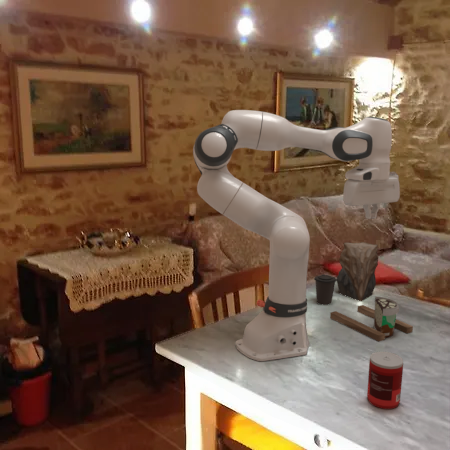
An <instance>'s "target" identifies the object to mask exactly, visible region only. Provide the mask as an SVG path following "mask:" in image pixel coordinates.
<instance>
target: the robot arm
mask: <svg viewBox="0 0 450 450" xmlns="http://www.w3.org/2000/svg"><path fill="white" fill-rule="evenodd" d="M392 137H393V129H392V124H391V122H390V121H389V120H388V119H386V118H382V117H376V116H365V117H364V118H363V119H362V120H360V121H359V122H356V123H354V124H352V125H350V126H347V127H344V126H343V127H342V126H335V127H331V128H327V129H317V128H310V127H305V126H300V125H297V124H294V123H292V122H290V120H288V119H287V118H285V117H283V116H281V115H278V114H274V113H272V112H266V111H260V110H250V109H249V110H248V109H234V110H229V111H228V112H226V113H225V114H224V116H223V118H222V120H221V123H220V124H218V125H214V126H212V127H209V128H207V129H205V130H203V131H201V132H200V133H199V135H197V137H196V139H195V141H194V143H193V144H194V145H193V149H192V150H193V151H192V154H193V159H194V160H193V161H194V163H195V166H196V167H197V169H198V171H199V173H200V174H201V175H200V178H199V180H198V182H197V186H196V190H197V194H198V196H199V197H200V198H201V199H203V201H204V202H205V203H206V204H208V205H209V206H210V207H211V208H213V209H214V210H216V212H218V213H220V214H221V215H223V216H224V217H226V218H227V219H229V220H230V221H232V222H233V223H234V224H236V225H238V226H240V227H241V228H243V229H244V230H247V231H249V232H252V233H254V234H257V235H258V236H261V237H262V238H264V239H267V240H268V241H269V264H268V265H269V266H268V267H269V268H268V269H269V271H268V296H267V297H266V300H265V301H264V300H263V299H260V298H259V299H257V301H256V305H257V306H258V307H260V308H262V311H261V312H259V313H258V314H257V315H256V316H255V317H254V318H253V319H252V320H251V321H250V322H248V324H246V326H245V327H244V330H243V331H244V332H243V336H242V338H240V339H237V340H236V341H235V348H236V350H238V351H239V352H240V353H241V354H243V355H244V356H246V357H247V358H249V359H251V360H254V361H258V362H267V361H273V360H279V359H286V358H292V357H298V356H306V355H307V354H308V348H309V347H310V343H311V342H310V339H309V336H308V332H307V331H308V330H307V329H308V328H307V318H306V317H307V316H306V315H307V314H306V313H307V311H308V299H307V279H308V268H309V267H308V266H309V257H310V256H309V255H310V242H311V241H310V240H311V237H310V233H309V229H308V226H307V223H306V221H305V220H304V218H303V217H302V216H301V215H299V214H298V213H296V212H294V211H293V210H291V209H289V208H287V207H285V206H284V205H282V204H280V203H278V202H276V201H274V200H272V199H271V198H269V197H266V196H265V195H263V194H262V193H260V192H258V190H255V189H254V188H253V187H251V186H250V185H248V184H246V183H245V182H243V181H241V180H240V179H238V178H237V177H235V176H234V175H233V174H232V173H231V172H230V171H229V169H228V166H227V165H228V164H229V163H230V161H231V159H232V155H233V153H234V151H235V150H237V149H241V148H242V149H243V148H244V149H245V148H246V149H251V150H256V151H264V152H275V151H282V150H284V149H287V148H301V149H308V150H315V151H319V152H321V153H323V154H324V155H326V156H327V157H329V158H331V159H333V160H338V161H341V162H345V163H346V162H347V163H349V162H352V161H358V160H359V163H358V165H357V166H355V167H354V168H351V169H349V170H347V171H346V172H345V174H344V175H345V179H346V181H345V182H344V186H343V196H342V197H343V198H342V200H343V203H344V205H345V206H349V207H357V206H362V208H363V210H364V212H365V216H364V217H365V219H368V220H370V219H377V217H378V216H377V215H378V212H379V210H380V208H381V204H386V203H387V204H388V203H396V202H398V201H399V200H400V194H401V193H400V191H401V189H400V180H399V175H398V173H397V172H396V171H390V170H391V158H390V153H391V150H392V145H393V144H392V143H393V142H392V141H393V138H392Z"/></svg>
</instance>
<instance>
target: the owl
mask: <svg viewBox="0 0 450 450" xmlns="http://www.w3.org/2000/svg"><path fill="white" fill-rule="evenodd" d="M378 251H379V245H378V244H377V243H376V244H372V243H369V242H365V241H364V242H363V241H362V242H358V243H357V242H355V243H352V242H344V243H343V250H342V252H340V257H339V265H340V267H341V268H340V270H339V271H338V275H337V277H336V280H337V281H336V283H337V288H338V289H337V290H338V294H339V293H341V294H343V295H342V296H345V295H346V296H345V297H347V296H348V297H347V298H350V297H351V298H350V299H352V298H353V299H352V300H355V299H356V301H358V300H359V301H358V302H363V301H364V300H366V299H367V298H369V297H371V296H373V292H374V290H375V287H376V283H377V280H376V275H375V274H376V273H375V272H376V269H377V268H378V265H379V255H378ZM341 294H340V295H341ZM362 300H363V301H362Z"/></svg>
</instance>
